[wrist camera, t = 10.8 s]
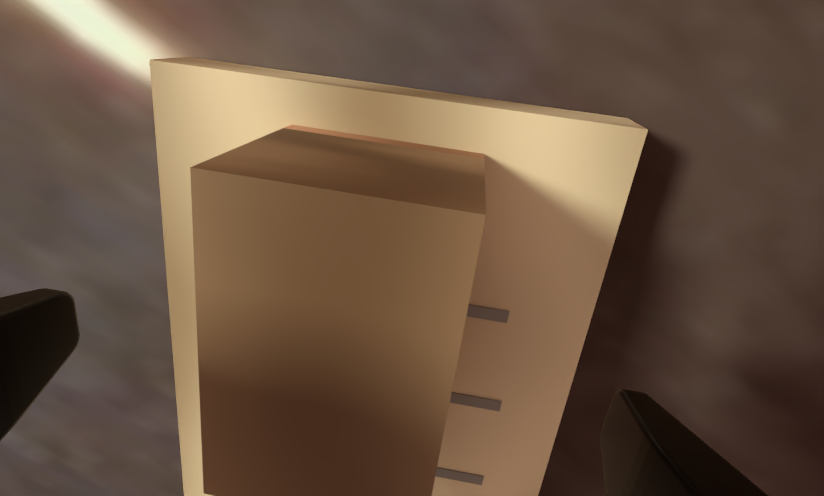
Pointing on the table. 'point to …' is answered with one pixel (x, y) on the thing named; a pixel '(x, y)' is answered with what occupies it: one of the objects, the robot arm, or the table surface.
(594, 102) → the table surface
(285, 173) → the block
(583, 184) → the birch board
